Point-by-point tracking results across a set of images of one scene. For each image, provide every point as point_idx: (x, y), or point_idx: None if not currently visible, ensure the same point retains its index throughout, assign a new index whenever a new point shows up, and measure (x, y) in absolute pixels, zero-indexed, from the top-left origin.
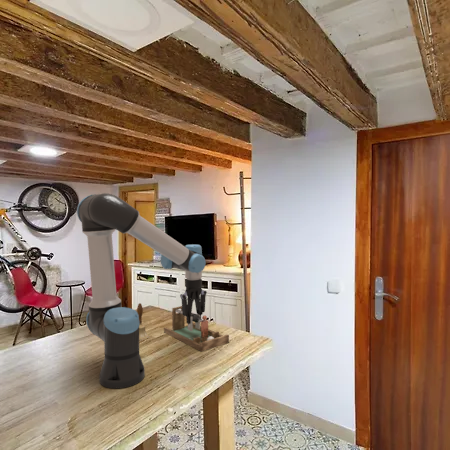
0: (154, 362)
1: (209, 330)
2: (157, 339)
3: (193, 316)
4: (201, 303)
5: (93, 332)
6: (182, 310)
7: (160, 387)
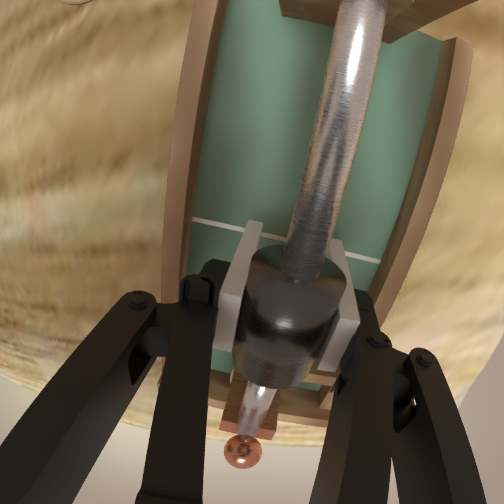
0: (21, 261)
1: (382, 304)
2: (129, 39)
3: (240, 358)
4: (414, 462)
5: None
6: (93, 333)
7: (19, 352)
